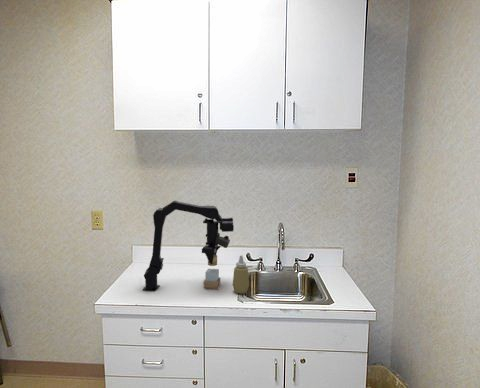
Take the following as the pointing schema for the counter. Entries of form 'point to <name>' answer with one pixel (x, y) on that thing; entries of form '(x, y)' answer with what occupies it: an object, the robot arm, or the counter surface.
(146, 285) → the robot arm
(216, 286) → the walnut base block
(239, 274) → the squeeze bottle
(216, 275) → the blue-grey square block
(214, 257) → the tan wooden cylinder
